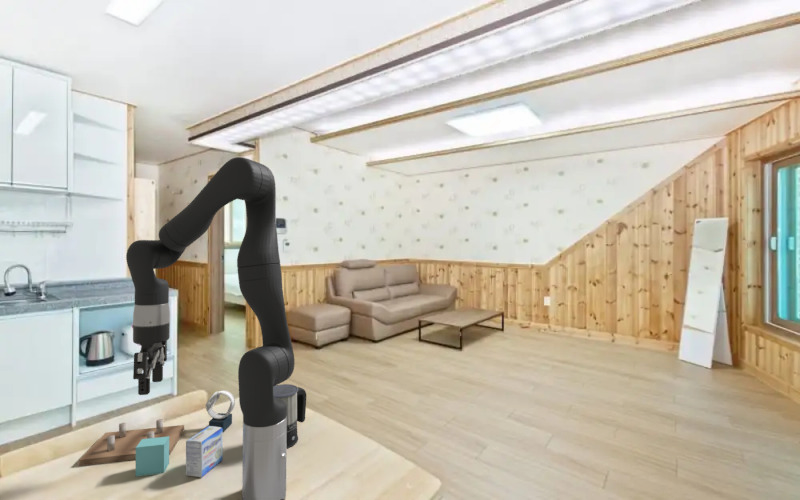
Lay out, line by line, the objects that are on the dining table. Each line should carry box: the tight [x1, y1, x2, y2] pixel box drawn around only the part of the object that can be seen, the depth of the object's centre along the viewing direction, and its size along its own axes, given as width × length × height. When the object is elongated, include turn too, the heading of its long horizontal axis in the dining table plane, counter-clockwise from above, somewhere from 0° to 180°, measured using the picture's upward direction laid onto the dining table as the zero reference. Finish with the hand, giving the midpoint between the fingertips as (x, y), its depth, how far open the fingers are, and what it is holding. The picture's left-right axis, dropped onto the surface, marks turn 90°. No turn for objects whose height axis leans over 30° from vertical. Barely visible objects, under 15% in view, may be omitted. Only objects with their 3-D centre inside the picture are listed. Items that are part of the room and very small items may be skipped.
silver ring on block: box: [205, 389, 236, 433], centre depth 116 cm, size 6×8×11 cm
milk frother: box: [273, 383, 307, 449], centre depth 111 cm, size 14×16×15 cm
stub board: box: [78, 418, 185, 467], centre depth 105 cm, size 20×14×5 cm
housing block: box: [135, 436, 170, 477], centre depth 94 cm, size 6×4×7 cm, turn 105°
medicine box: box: [185, 425, 224, 478], centre depth 95 cm, size 8×4×9 cm, turn 168°
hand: (151, 387), depth 94 cm, fingers open, 8 cm apart
